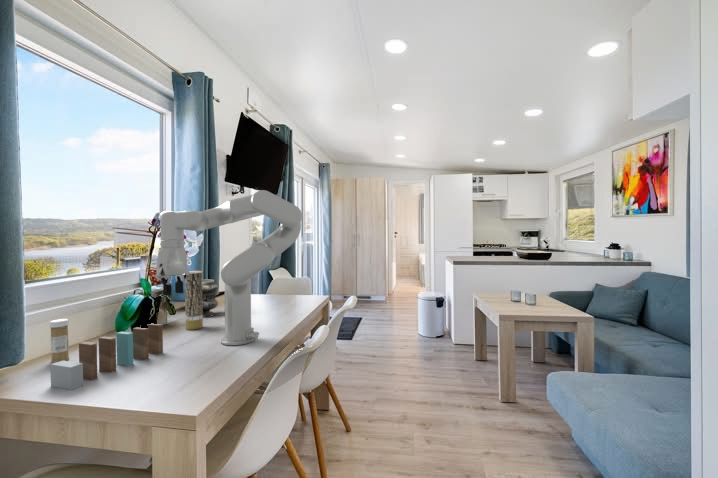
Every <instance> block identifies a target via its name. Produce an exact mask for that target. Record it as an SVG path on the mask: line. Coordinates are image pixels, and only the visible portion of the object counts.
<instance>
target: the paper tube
mask: <svg viewBox="0 0 718 478" xmlns="http://www.w3.org/2000/svg"><path fill="white" fill-rule="evenodd" d="M189 272H190V273H189V274H188V275H187V277H186V278H185V281H184V299H185V300H184V301H185V302H184V303H185V304H184V305H185V306H184V307H185V309H184V310H185V311H184V312H185V328H186V329H187V330H191V331H194V330H199V329H202V328H203V324H204V323H203V321H204V320H203V318H204V317H203V308H202V280H203V272H202V270H189Z"/></svg>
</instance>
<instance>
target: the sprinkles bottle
mask: <svg viewBox="0 0 718 478" xmlns="http://www.w3.org/2000/svg"><path fill="white" fill-rule="evenodd" d="M68 326H69V319H68V318H59V319H53V320H50V321H49V327H50V352H51V353H50V354H51V360H50V362H51V364H53V363H56V362H59V361H69V359H70V356H69V349H70V348H69V346H70V345H69V329H68Z"/></svg>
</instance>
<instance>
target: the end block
mask: <svg viewBox="0 0 718 478" xmlns="http://www.w3.org/2000/svg"><path fill="white" fill-rule="evenodd" d="M49 366H50V387H53V388H58V389H63V390H69V391H72V390H76V389H78V388H80V387H83V386H84V379H83V363H79V362H75V361H70V360H66V361H59V362H56V363H50V365H49Z"/></svg>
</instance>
